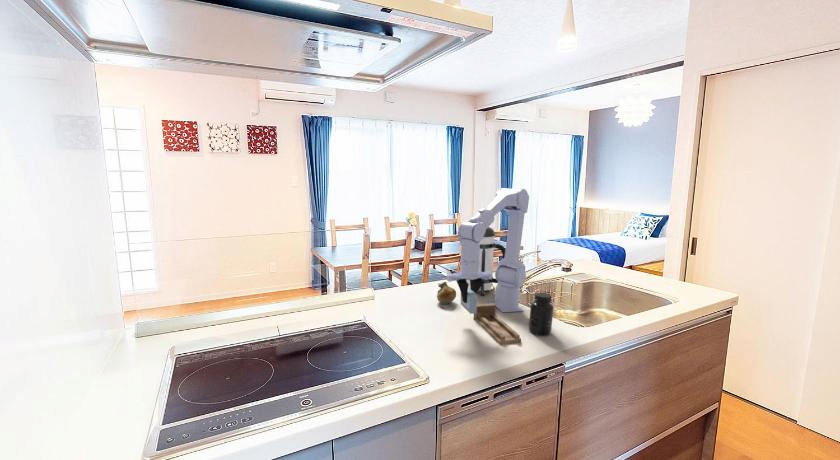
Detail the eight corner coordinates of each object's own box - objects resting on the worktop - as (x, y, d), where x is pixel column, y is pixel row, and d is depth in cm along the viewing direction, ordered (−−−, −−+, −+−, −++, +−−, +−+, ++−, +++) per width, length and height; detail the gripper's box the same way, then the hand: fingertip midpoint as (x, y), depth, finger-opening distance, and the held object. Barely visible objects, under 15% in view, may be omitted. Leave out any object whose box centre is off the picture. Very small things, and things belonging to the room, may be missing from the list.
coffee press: (463, 297, 153) (466, 222, 149) (456, 285, 169) (459, 217, 165) (506, 296, 155) (510, 223, 150) (495, 285, 171) (498, 218, 166)
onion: (434, 305, 143) (434, 285, 142) (438, 298, 151) (438, 279, 150) (454, 307, 142) (455, 286, 140) (457, 300, 149) (457, 280, 148)
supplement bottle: (553, 337, 117) (557, 299, 115) (530, 335, 118) (534, 298, 116) (548, 327, 124) (551, 292, 122) (526, 325, 125) (530, 290, 123)
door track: (473, 318, 131) (474, 304, 130) (492, 317, 133) (493, 303, 132) (499, 344, 112) (500, 327, 111) (521, 342, 113) (521, 325, 113)
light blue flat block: (460, 304, 127) (460, 286, 127) (466, 303, 128) (466, 286, 127) (470, 313, 119) (470, 295, 118) (476, 313, 119) (477, 294, 118)
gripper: (452, 264, 115) (450, 307, 117) (496, 262, 119) (494, 304, 121) (445, 259, 122) (444, 300, 124) (487, 257, 126) (485, 297, 128)
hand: (468, 301), depth 123 cm, fingers closed on light blue flat block, 2 cm apart
